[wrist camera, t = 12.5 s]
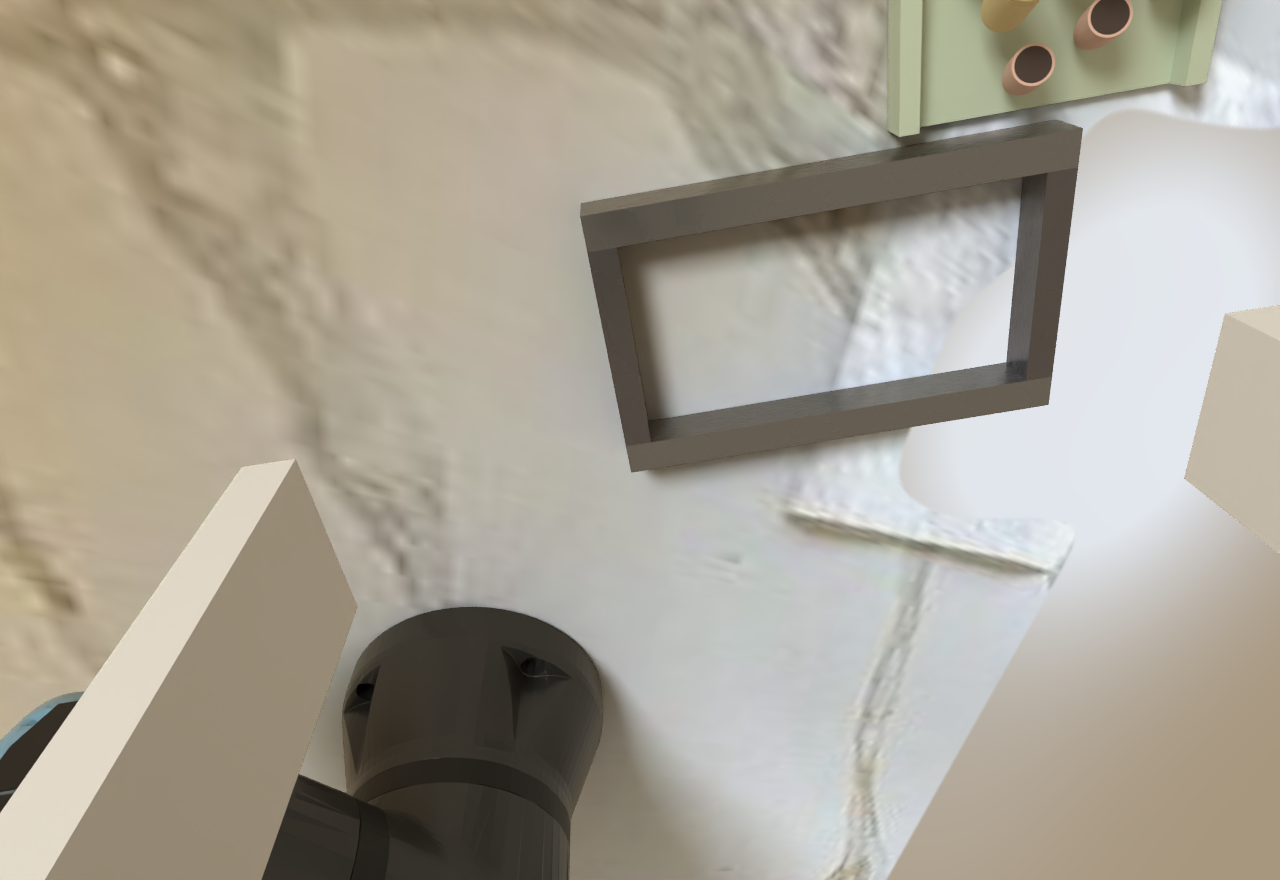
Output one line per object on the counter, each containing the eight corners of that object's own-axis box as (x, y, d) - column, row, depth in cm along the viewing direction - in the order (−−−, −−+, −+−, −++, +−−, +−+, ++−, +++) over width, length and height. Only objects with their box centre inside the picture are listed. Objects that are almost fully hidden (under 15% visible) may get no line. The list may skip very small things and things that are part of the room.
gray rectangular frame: (1028, 385, 39) (1048, 404, 37) (629, 450, 40) (631, 472, 38) (1057, 119, 33) (1082, 128, 31) (581, 203, 33) (580, 216, 32)
